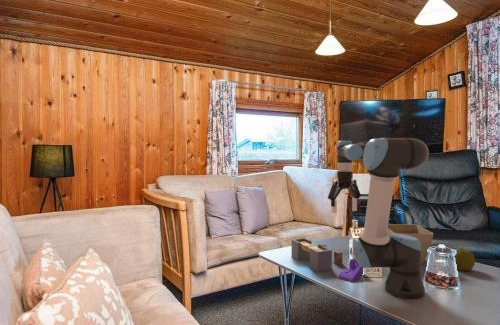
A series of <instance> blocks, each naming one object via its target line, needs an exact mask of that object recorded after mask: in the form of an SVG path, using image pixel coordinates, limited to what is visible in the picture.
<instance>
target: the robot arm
mask: <svg viewBox="0 0 500 325" xmlns="http://www.w3.org/2000/svg"><path fill="white" fill-rule="evenodd" d="M336 152H337V154H336V156H337V157H336V158H337V159H336V161H337V163H336V164H337V166H336V170H337V172H336V178H337V180H332V186H331V188H330V190H329V193H328V195H327V199H328V200H330V207H331V213H333V214H337V210H338V209H337V208H338V206H337V204H338V203H337V202H338V201H337V198H338V197H339V194H340V193H341V191H343V190H346V189H347V190H348V191H349V193H350V194H351V195H352V199H351V205H352V206H351V209H352V211H354V212H357V211H358V203H359V202H358V201H359V199H360V198H361V197H362V194H361V192H360V189H359V186H358V184H357V179H353V161H362V164H363V166H364V168H365V169H366V170H367V171H366V172H367V174H369V176H370V181H369V189H368V195H367V204H366V210H365V219H364V226H363V229H362V230H361V231H360V232H359V234H358V235H359V236H358V238H357V237H356V238H354V239H353V241H352V251H353V256H354V258H355V259H356V261H357V263H358V265H359V266H361V267H363V268H365V269H366V268H368V269H371V268H375V269H377V268H389V271H388V274H387V276H386V280H385V281H384V290H385V291H386V292H387V293H389V294H390V295H393V296H394V297H398V298H402V299H408V300H418V299H422V298H423V297H425V295H426V288H425V286H424V283H423V279H422V275H421V265H422V264H421V251H422V250H421V242H420V240H419V239H417V238H415V237H413V236H409V235H405V234H399V233H393V234H390V238H389V236H388V235H387V228H388V224H389V219H390V212H391V206H392V200H393V193H394V189H395V188H394V186H395V181H396V180H397V179H398V178H399V177H400V176H401V170H412V169H413V170H415V169H417V168H420V167H422V166H423V165H425V163H426V162H427V161H428V159H429V155H430V151H429V148H428V146H427V144H426V143H425V142H424V141H423V140H420V139H417V138H413V137H380V138H379V137H378V138H377V137H376V138H372V139H370V140H369V141H368V142H367V143H366V144H365V143H364V144H361V143H360V144H356V143H353V141H352V140H339V141H337V145H336Z"/></svg>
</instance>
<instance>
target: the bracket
mask: <svg viewBox="0 0 500 325" xmlns="http://www.w3.org/2000/svg"><path fill="white" fill-rule="evenodd" d="M348 264H349V266H348V267H349V268H346V269H344V270H342V271H341V272H339V274H338V275H337V277H338V279H341V280H344V281H348V282H350V283H353V282H355V281H356V280H358V279H360V278H362V277H363V276H362V274H363V267H361V266H359V265H358V263H357V261H356V259H355V257H354V258H351V259H350V260H349V263H348ZM361 276H362V277H361Z"/></svg>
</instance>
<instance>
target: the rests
mask: <svg viewBox="0 0 500 325" xmlns="http://www.w3.org/2000/svg"><path fill="white" fill-rule="evenodd" d="M323 246H324V247H327V245H326V244H325V243H318V244H317V248H320V249H322V247H323ZM343 255H344V254H343V252H342V251H340V250H335V251H334V252H333V263H334V264H335V265H337V266H340V265H343V259H344V258H343Z"/></svg>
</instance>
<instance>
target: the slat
mask: <svg viewBox="0 0 500 325" xmlns="http://www.w3.org/2000/svg"><path fill="white" fill-rule="evenodd" d="M300 248H301V249H303V250H305V251H307V252H309V253H310V248H313V249H315V250H317V251H323V250H322V249H320V248H318V246H316V245H313V244H312V245H311V244H309V243H307V242H305V241H304V242H300Z"/></svg>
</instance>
